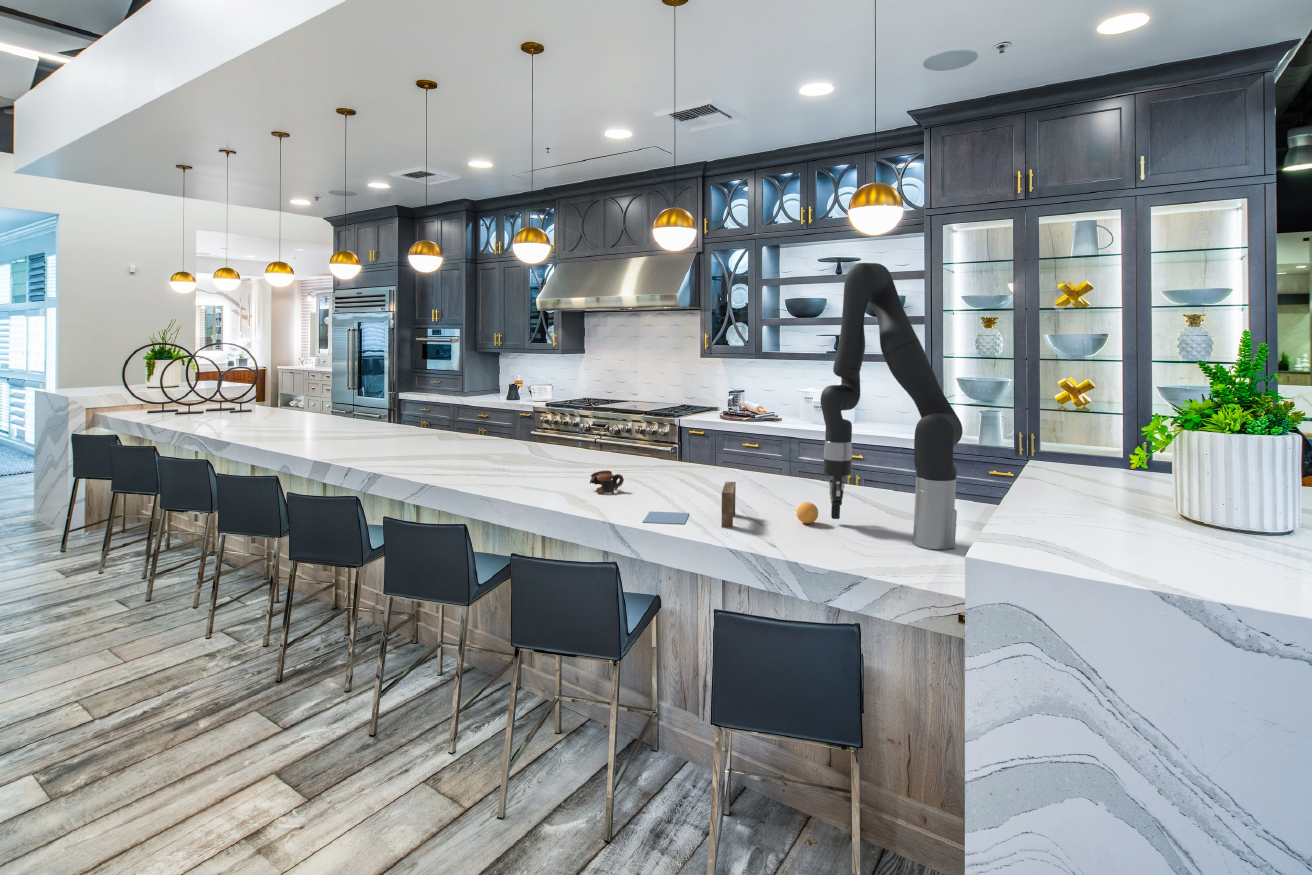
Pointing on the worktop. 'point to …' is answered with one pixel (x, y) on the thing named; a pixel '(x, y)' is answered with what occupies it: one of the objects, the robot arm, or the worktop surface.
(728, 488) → the bridge
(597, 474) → the pottery mug
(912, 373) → the robot arm
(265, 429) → the worktop surface
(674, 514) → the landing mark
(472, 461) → the worktop surface
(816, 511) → the ball
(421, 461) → the worktop surface
